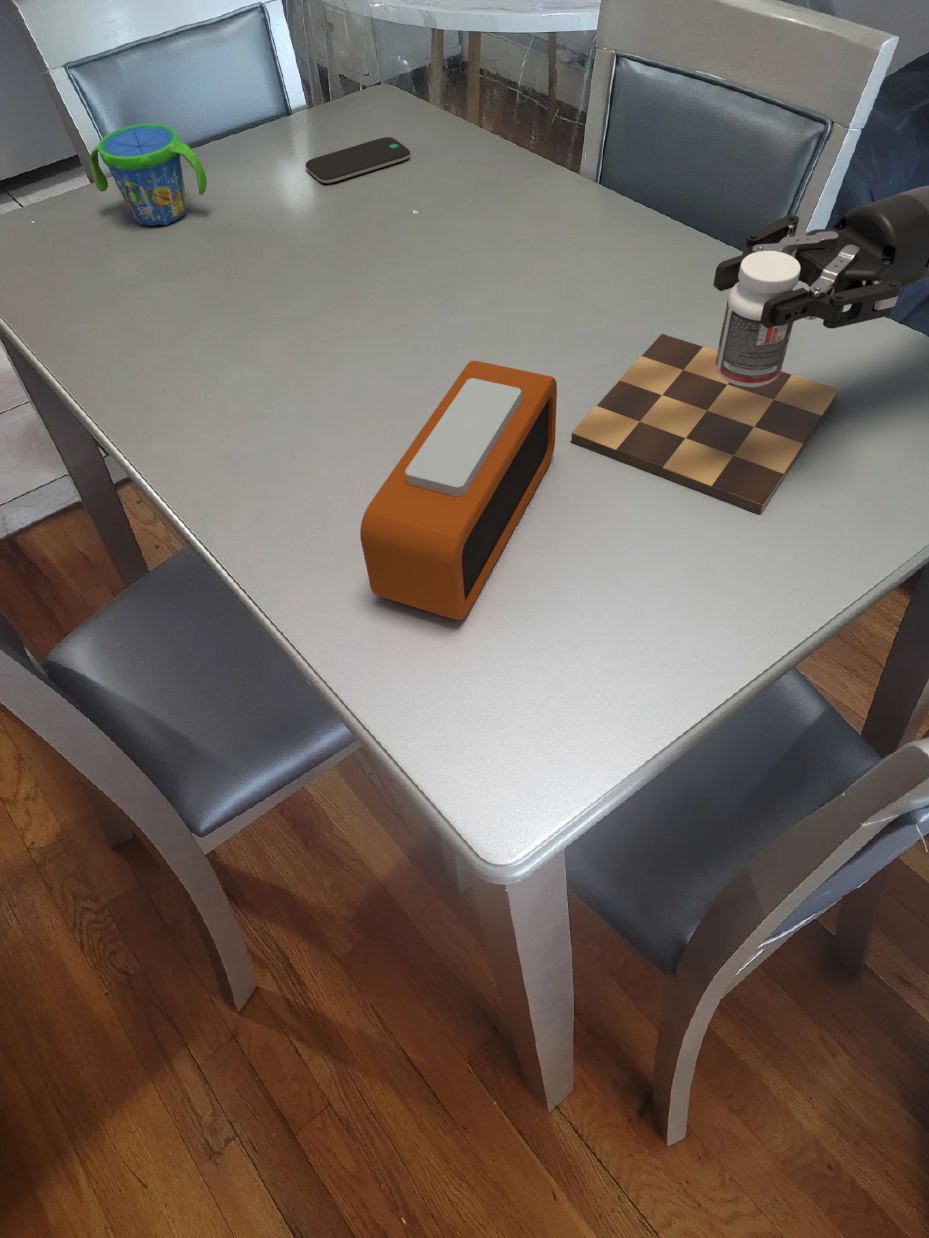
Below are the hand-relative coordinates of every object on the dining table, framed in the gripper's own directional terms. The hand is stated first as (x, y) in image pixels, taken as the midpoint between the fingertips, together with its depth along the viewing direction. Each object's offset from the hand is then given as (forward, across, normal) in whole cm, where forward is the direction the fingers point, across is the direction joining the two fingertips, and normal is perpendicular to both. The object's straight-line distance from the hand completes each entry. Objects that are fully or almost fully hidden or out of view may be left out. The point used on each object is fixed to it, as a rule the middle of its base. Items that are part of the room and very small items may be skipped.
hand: (741, 296), depth 71 cm
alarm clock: (+24, -3, +18) cm, 30 cm away
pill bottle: (-2, 0, +8) cm, 9 cm away
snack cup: (+36, -80, +18) cm, 89 cm away
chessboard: (-4, -5, +18) cm, 19 cm away
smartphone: (+6, -80, +18) cm, 82 cm away
